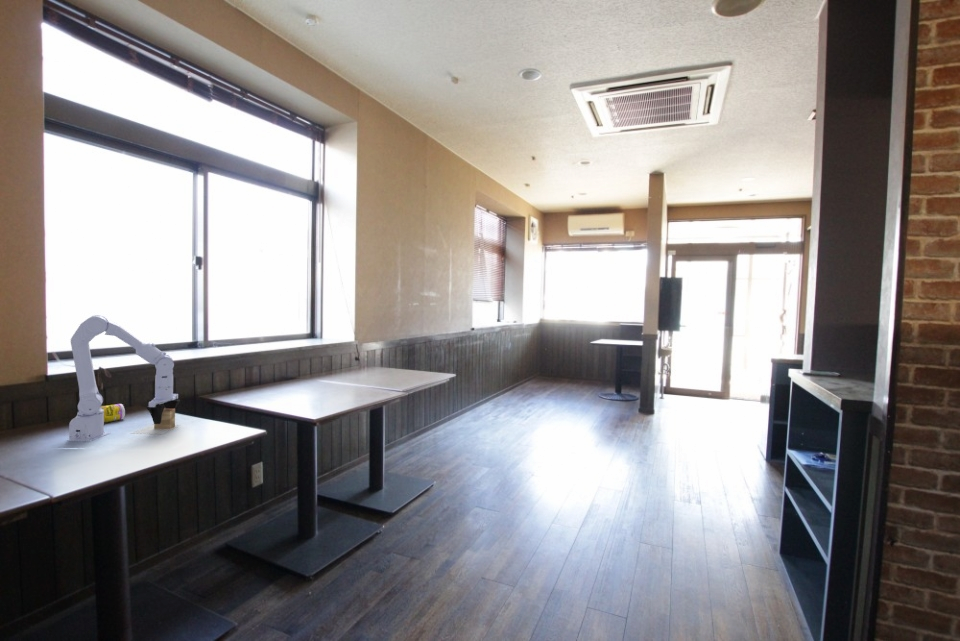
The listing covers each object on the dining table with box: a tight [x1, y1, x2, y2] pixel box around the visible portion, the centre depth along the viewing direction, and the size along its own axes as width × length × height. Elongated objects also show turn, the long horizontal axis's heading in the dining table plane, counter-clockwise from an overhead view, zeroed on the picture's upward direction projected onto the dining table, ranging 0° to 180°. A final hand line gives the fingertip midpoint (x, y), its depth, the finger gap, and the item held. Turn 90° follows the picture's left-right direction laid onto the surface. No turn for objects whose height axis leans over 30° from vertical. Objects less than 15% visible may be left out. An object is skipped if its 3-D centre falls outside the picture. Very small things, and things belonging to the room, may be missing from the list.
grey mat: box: [130, 423, 181, 435], centre depth 172 cm, size 12×11×1 cm
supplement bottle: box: [101, 403, 126, 424], centre depth 178 cm, size 7×7×13 cm
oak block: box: [153, 408, 176, 429], centre depth 174 cm, size 3×6×7 cm, turn 93°
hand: (163, 421), depth 174 cm, fingers open, 7 cm apart
